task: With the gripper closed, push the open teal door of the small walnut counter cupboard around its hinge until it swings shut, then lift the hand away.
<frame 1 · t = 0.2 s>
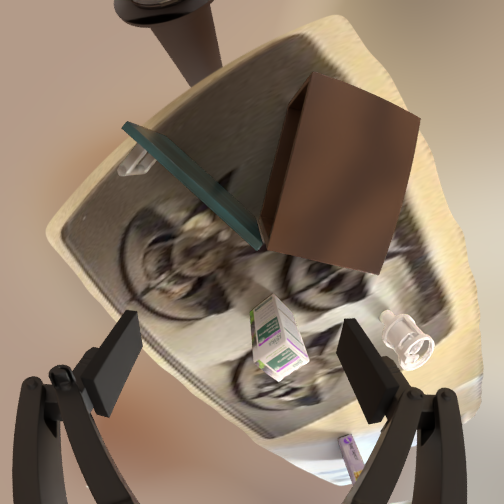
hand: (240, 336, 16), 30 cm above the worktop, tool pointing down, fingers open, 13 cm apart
white slotted fitting: (385, 315, 51), on the worktop
cupboard door: (187, 194, 35), point 8 cm above the worktop, hinge at 60.0°
syrup box: (271, 311, 49), on the worktop
cupboard: (315, 172, 42), on the worktop
purple printed carton: (348, 447, 66), on the worktop
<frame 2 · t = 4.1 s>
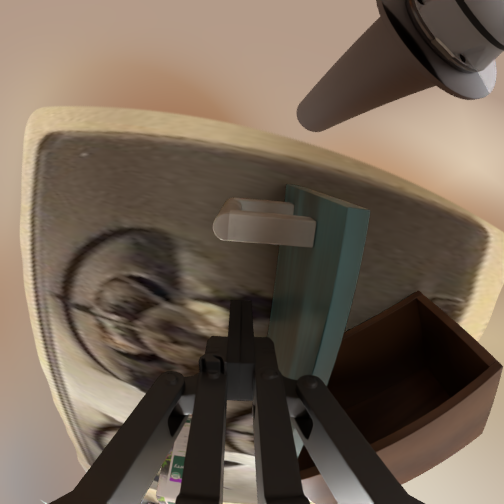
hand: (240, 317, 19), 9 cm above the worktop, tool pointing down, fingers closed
cupboard door: (256, 326, 20), point 8 cm above the worktop, hinge at 57.5°, touching gripper
syrup box: (194, 425, 34), on the worktop
cupboard: (362, 367, 31), on the worktop
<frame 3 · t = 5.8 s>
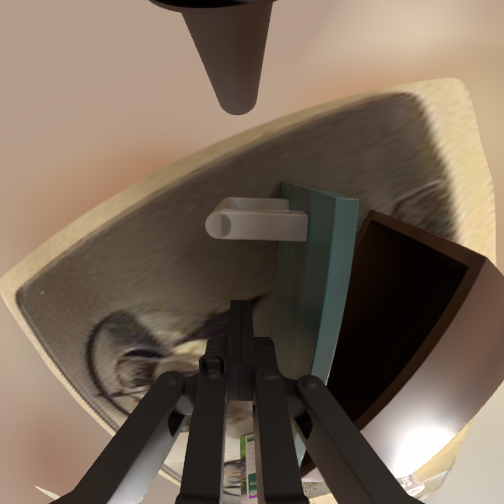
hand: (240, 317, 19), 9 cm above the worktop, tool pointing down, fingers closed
white slotted fitting: (382, 442, 38), on the worktop
cupboard door: (257, 324, 20), point 8 cm above the worktop, hinge at 23.9°, touching gripper
syrup box: (265, 438, 35), on the worktop
cupboard: (372, 315, 29), on the worktop
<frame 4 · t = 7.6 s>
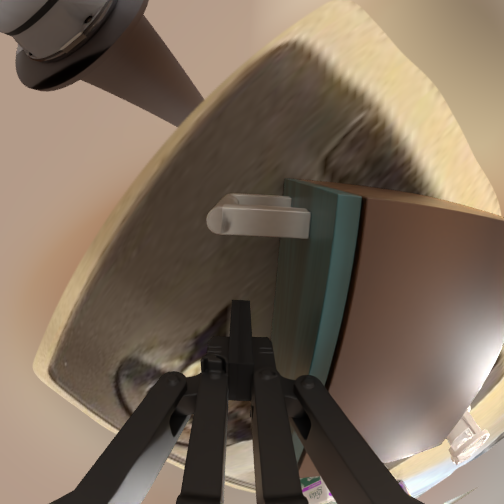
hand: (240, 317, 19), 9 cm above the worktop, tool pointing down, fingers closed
white slotted fitting: (437, 395, 35), on the worktop
cupboard door: (257, 321, 20), point 8 cm above the worktop, hinge at -0.4°, touching gripper
syrup box: (309, 429, 35), on the worktop
cupboard: (352, 282, 28), on the worktop
purple printed carton: (399, 487, 49), on the worktop
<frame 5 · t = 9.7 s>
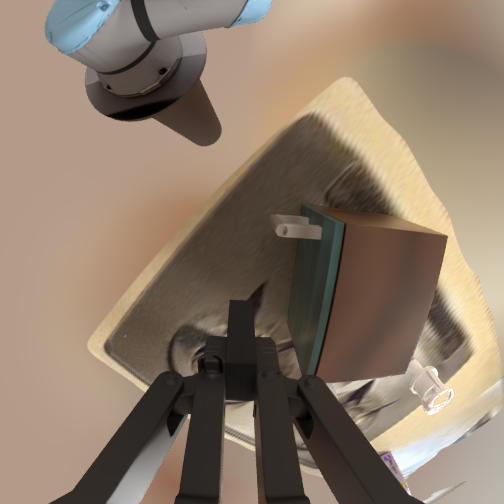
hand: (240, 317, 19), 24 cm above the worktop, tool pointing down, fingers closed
white slotted fitting: (411, 364, 51), on the worktop
cupboard door: (289, 286, 36), point 8 cm above the worktop, hinge at -0.3°
cupboard: (342, 269, 44), on the worktop
purple printed carton: (388, 460, 65), on the worktop
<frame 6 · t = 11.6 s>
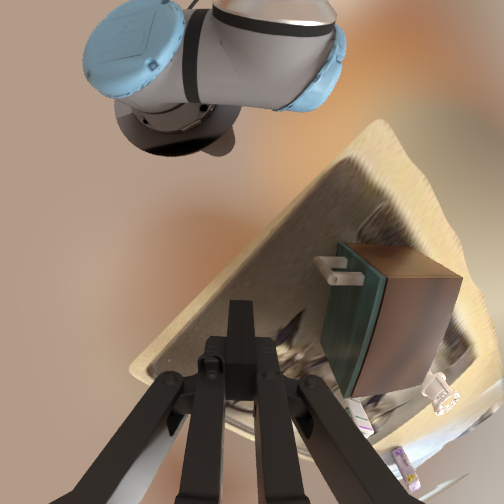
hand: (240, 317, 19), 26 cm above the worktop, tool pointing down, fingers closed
white slotted fitting: (422, 370, 56), on the worktop
cupboard door: (330, 318, 40), point 8 cm above the worktop, hinge at -0.3°
syrup box: (338, 392, 56), on the worktop
cupboard: (369, 295, 48), on the worktop
purple printed carton: (399, 454, 71), on the worktop
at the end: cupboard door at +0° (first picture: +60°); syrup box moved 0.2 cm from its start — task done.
